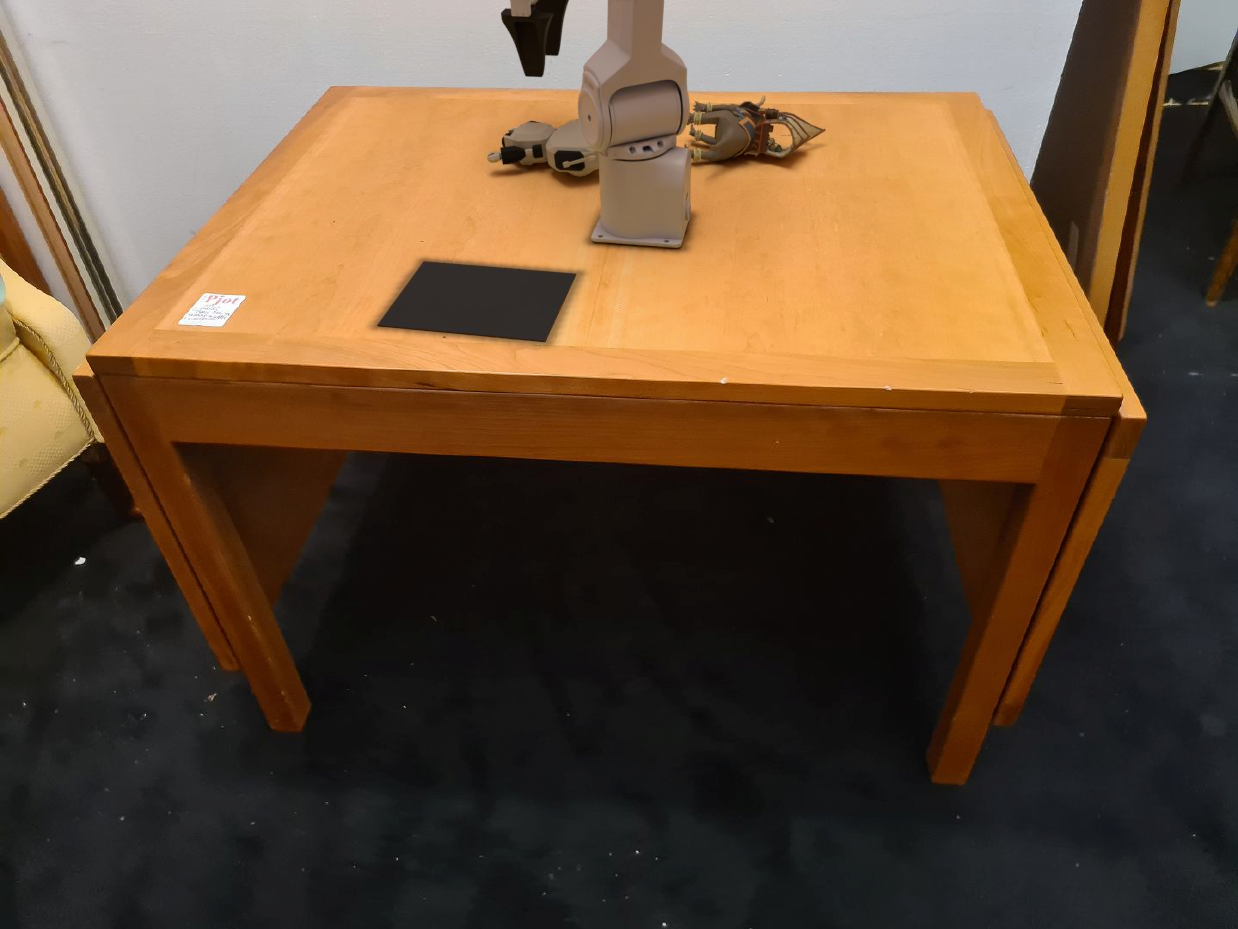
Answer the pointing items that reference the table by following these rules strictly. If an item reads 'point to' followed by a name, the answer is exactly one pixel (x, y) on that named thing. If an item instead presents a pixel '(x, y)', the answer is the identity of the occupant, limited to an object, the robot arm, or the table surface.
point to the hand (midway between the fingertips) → (542, 64)
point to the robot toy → (548, 147)
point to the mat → (480, 301)
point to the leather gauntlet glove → (746, 130)
